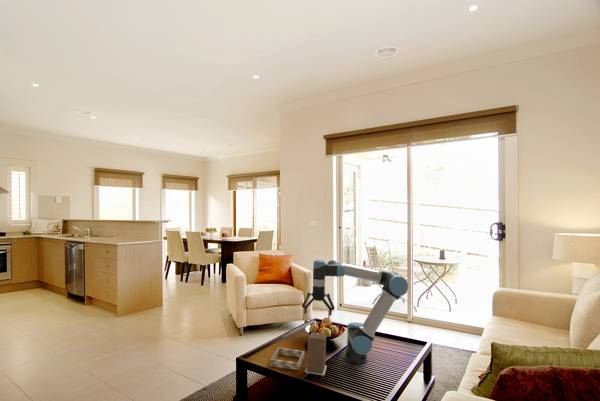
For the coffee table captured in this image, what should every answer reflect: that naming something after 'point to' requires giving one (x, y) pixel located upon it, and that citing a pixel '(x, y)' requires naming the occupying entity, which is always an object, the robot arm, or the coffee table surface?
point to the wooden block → (316, 352)
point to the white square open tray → (287, 363)
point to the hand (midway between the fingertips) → (317, 319)
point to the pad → (316, 372)
